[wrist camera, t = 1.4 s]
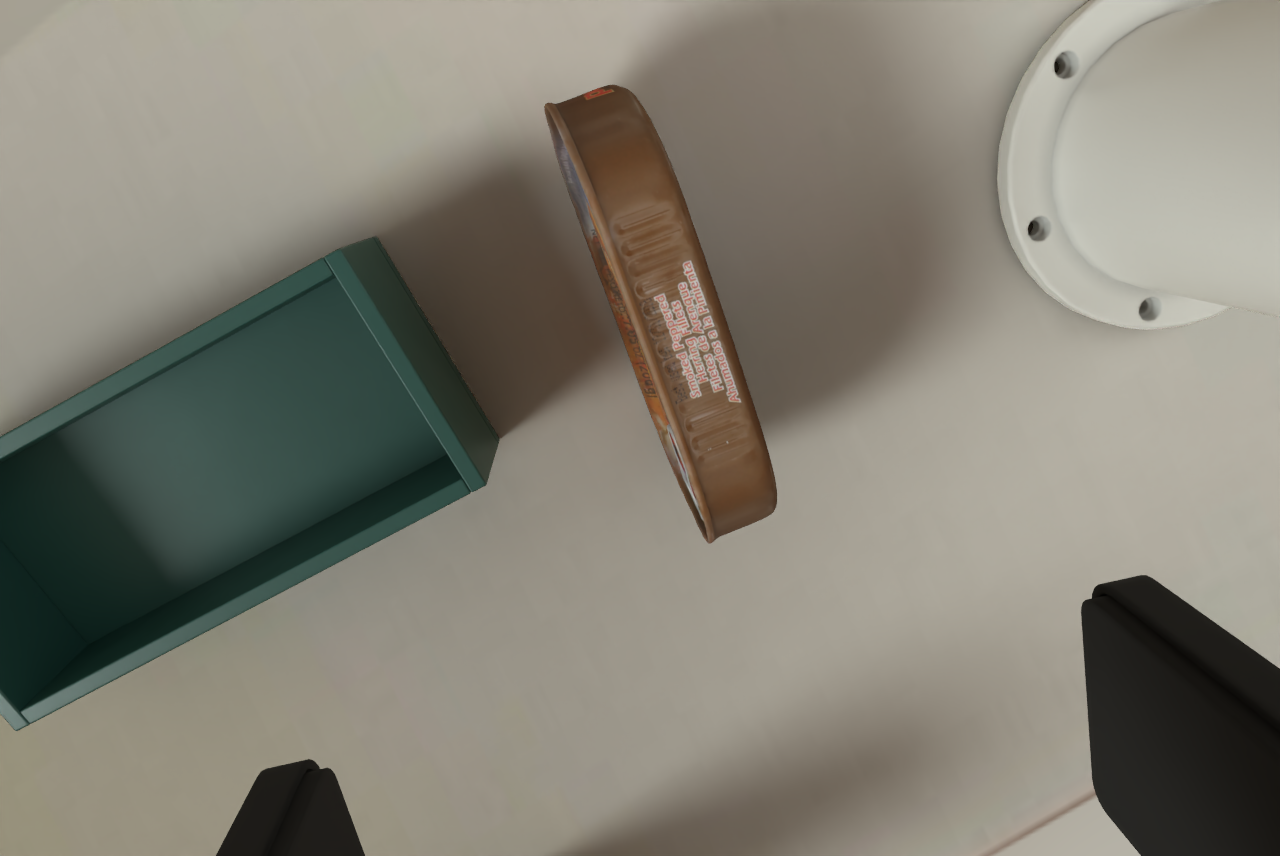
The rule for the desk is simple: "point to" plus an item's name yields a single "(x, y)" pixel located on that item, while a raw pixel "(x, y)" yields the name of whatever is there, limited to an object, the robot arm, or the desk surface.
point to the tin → (665, 306)
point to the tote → (225, 475)
